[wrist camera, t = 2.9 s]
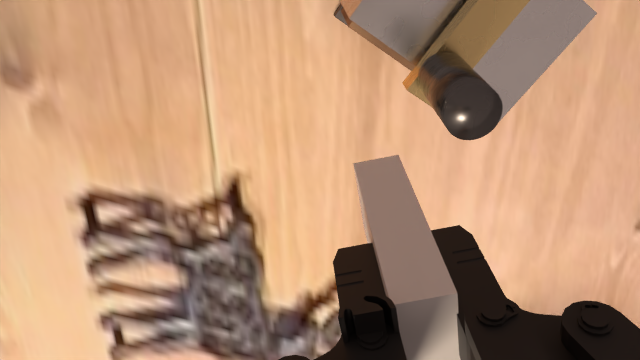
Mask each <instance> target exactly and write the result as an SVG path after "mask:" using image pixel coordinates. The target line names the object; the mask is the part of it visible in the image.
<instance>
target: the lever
mask: <svg viewBox="0 0 640 360" xmlns="http://www.w3.org/2000/svg"><path fill="white" fill-rule="evenodd" d="M529 1H530V0H467V1H466V3H465V4H464V5H463V6H462V8H461V9H460V10H459V11H458V13H457V14H456V15H455V17H454V18H453V19H452V20H451V22H450V23H449V24H448V25H447V27H446V28H445V29H444V31H443V32H442V33H441V34H440V36H439V37H438V38H437V39H436V41H435V42H434V43H433V45H432V46H431V47H430V48H429V50H428V51H427V52H426V53H425V55H424V56H423V57H422V58H421V60H420V61H419V62H418V64H417V65H416V66H415V67H414V69H413V70H412V71H411V72H410V74H409V75H408V76H407V78H406V79H405V80H404V81H403V85H404V86H405V88H406V89H407V90H408V91H409V92H410V93H412V94H413V95H415V96H416V97H418V98H419V99H421V100H422V101H424V102H425V103H427V104H428V105H430V106H431V107H432V108H433V109H434V110H435V112H436V113H437V115H438V116H439V117H440V119H441V120H442V122H443V123H444V125H445V126H446V128H447V129H448V131H449V132H450V133H451V134H452V135H453V136H455V137H457V138H459V139H463V140H474V139H478V138H481V137H483V136H485V135H487V134H488V133H489V132H491V131H492V130H493V129H494V128H495V127H496V125H497V124H498V122H499V120H500V118H501V115H502V110H503V105H502V100H501V98H500V96H499V95H498V93H497V92H496V91H495V90H494V89H493V88H492V87H491V86H490V85H489V84H488V83H487V82H486V81H485V80H484V79H483V78H482V77H481V76H480V75H479V74H478V73H477V72H476V71H475V70H474V69H473V68H474V67H475V66H476V64H477V63H478V62H479V61H480V60H481V58H482V57H483V56H484V55H485V54H486V52H487V51H488V50H489V49H490V48H491V46H492V45H493V44H494V43H495V42H496V41H497V39H498V38H499V37H500V36H501V35H502V33H503V32H504V31H505V30H506V29H507V27H508V26H509V25H510V24H511V23H512V21H513V20H514V19H515V18H516V17H517V16H518V14H519V13H520V12H521V11H522V10H523V8H524V7H525V6H526V5H527V4H528V2H529Z"/></svg>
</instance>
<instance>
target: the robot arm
mask: <svg viewBox="0 0 640 360" xmlns="http://www.w3.org/2000/svg"><path fill="white" fill-rule="evenodd" d="M354 170H355V176H356V182H357V188H358V194H359V200H360V206H361V212H362V218H363V224H364V230H365V234H366V238H367V242H368V244H362V245H357V246H352V247H346V248H341V249H338V251H337V254H336V256H335V258H334V261H333V265H334V272H335V278H336V285H337V292H338V299H339V306H340V309H339V316H338V319H339V324H340V328H341V333H342V335H341V338H340V340H339V341H338V343H337V344H336V346H335V347H334V348H332V349H331V350H330V351H329V352H327V353H326V354H324V355H322V356H320V357H318V358H316V359H314V360H640V329H639V328H638V327H637V326H636V325H635V324H633V323H632V322H631V321H630V320H629V319H627V318H626V317H625V316H624V315H623V314H622V313H620V312H619V311H617V310H616V309H614V308H613V307H611V306H609V305H606V304H603V303H600V302H596V301H581V302H576V303H573V304H571V305H570V306H568V307H567V308H565V310H564V312H563V314H562V316H556V315H543V314H536V313H530V312H527V311H524V310H522V309H520V308H519V307H518V305H517V304H516V303H514V302H513V301H511V300H509V299H507V298H506V296H505V295H504V293H503V291H502V289H501V288H500V286H499V284H498V282H497V280H496V278H495V276H494V275H493V273H492V271H491V269H490V267H489V265H488V263H487V261H486V260H485V259H484V256H483V254H482V252H481V250H480V249H479V247H478V245H477V243H476V241H475V239H474V237H473V235H472V234H470V233H469V232H468V231H466V230H465V229H464V228H462V227H461V226H460V225H458V226H453V227H447V228H442V229H436V230H430V228H429V225H428V223H427V221H426V218H425V216H424V214H423V211H422V209H421V207H420V204H419V202H418V200H417V197H416V195H415V193H414V190H413V188H412V186H411V183H410V181H409V179H408V176H407V174H406V172H405V169H404V167H403V165H402V162H401V160H400V158H399V155H395V156H390V157H385V158H380V159H375V160H369V161H364V162H359V163H354ZM278 360H309V359H308V358H306V357H304V356H298V355H292V356H285V357H283V358H281V359H278Z"/></svg>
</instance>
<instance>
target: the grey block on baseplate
mask: <svg viewBox="0 0 640 360" xmlns="http://www.w3.org/2000/svg"><path fill="white" fill-rule="evenodd" d="M466 1H467V0H340V2H341V4H342V6H343V8H344V10H345V12H346V13H347V15H348V17H349V19H350V20H352V21H353V22H355V23H356V24H357V25H359V26H360V27H362V28H363V29H365V30H366V31H367V32H369V33H370V34H372V35H373V36H374V37H376V38H377V39H379V40H380V41H381V42H383V43H384V44H386V45H387V46H389V47H390V48H391V49H393V50H394V51H396V52H397V53H398V54H400V55H401V56H403V57H404V58H406V59H407V60H408V61H410V62H411V63H413V64H414V65H415V66H416V65H417V64H418V62H419V61H420V60H421V58H422V57H423V56H424V55H425V53H426V52H427V51H428V50H429V48H430V47H431V46H432V45H433V43H434V42H435V41H436V39H437V38H438V37H439V36H440V34H441V33H442V32H443V31H444V29H445V28H446V27H447V25H448V24H449V23H450V22H451V20H452V19H453V18H454V17H455V15H456V14H457V13H458V11H459V10H460V9H461V8H462V6H463V5H464V4H465V3H466ZM596 14H597V13H596V12H595V11H594V10H593V9H592V8H591V7H590V6H588V5H587V4H586V3H585V2H584V1H583V0H530V1H529V2H528V4H527V5H526V6H525V7H524V8H523V10H522V11H521V12H520V13H519V14H518V16H517V17H516V18H515V19H514V20H513V21H512V23H511V24H510V25H509V26H508V27H507V29H506V30H505V31H504V32H503V33H502V35H501V36H500V37H499V38H498V39H497V41H496V42H495V43H494V44H493V45H492V46H491V48H490V49H489V50H488V51H487V52H486V54H485V55H484V56H483V57H482V58H481V60H480V61H479V62H478V63H477V64H476V66H475V67H474V68H473V69H474V70H475V71H476V72H477V73H478V74H479V75H480V76H481V77H482V78H483V79H484V80H485V81H486V82H487V83H488V84H489V85H490V86H491V87H492V88H493V89H494V90H495V91H496V92H497V93H498V95H499V96H500V98H501V100H502V105H503V110H502V115H501V118H500V120H501V119H502V118H503V117H504V116H505V115H506V113H507V112H508V111H509V110H510V109H511V108H512V107H513V106H514V105H515V104H516V102H517V101H518V100H519V99H520V98H521V97H522V96H523V95H524V94H525V92H526V91H527V90H528V89H529V88H530V87H531V86H532V85H533V84H534V83H535V81H536V80H537V79H538V78H539V77H540V76H541V75H542V74H543V73H544V72H545V70H546V69H547V68H548V67H549V66H550V65H551V64H552V63H553V62H554V60H555V59H556V58H557V57H558V56H559V55H560V54H561V53H562V52H563V51H564V49H565V48H566V47H567V46H568V45H569V44H570V43H571V42H572V41H573V39H574V38H575V37H576V36H577V35H578V34H579V33H580V32H581V31H582V30H583V28H584V27H585V26H586V25H587V24H588V23H589V22H590V21H591V20H592V18H593V17H594V16H595V15H596ZM500 120H499V121H500Z"/></svg>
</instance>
